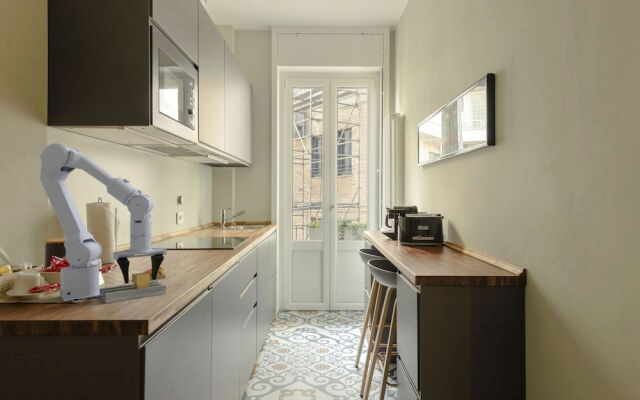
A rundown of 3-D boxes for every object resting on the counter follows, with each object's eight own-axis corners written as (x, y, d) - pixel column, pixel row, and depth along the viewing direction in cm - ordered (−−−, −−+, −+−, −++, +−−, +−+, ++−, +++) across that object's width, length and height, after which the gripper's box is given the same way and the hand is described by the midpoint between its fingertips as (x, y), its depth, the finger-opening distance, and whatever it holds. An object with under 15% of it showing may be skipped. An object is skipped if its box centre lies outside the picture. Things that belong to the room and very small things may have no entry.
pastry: (142, 283, 128) (142, 272, 128) (132, 280, 132) (132, 269, 132) (167, 278, 136) (168, 268, 136) (157, 276, 139) (157, 266, 139)
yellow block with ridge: (136, 293, 109) (136, 276, 109) (131, 290, 113) (131, 273, 113) (149, 291, 111) (150, 274, 111) (144, 288, 115) (144, 272, 115)
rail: (105, 303, 103) (105, 294, 103) (99, 297, 109) (99, 288, 109) (165, 293, 113) (166, 285, 113) (156, 288, 120) (156, 280, 120)
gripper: (117, 238, 105) (116, 287, 105) (170, 235, 114) (170, 280, 114) (111, 236, 110) (110, 282, 110) (162, 233, 119) (161, 276, 120)
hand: (140, 281), depth 112 cm, fingers open, 7 cm apart
